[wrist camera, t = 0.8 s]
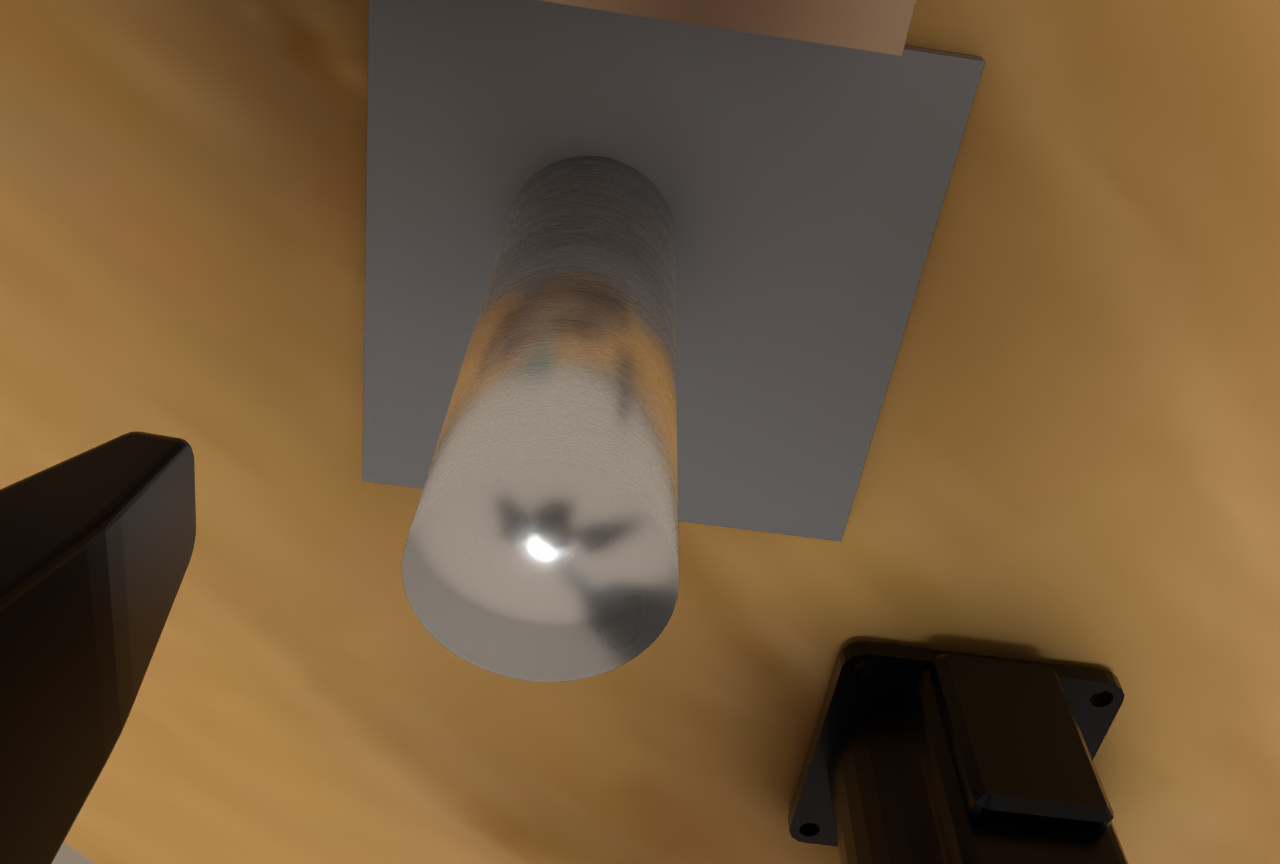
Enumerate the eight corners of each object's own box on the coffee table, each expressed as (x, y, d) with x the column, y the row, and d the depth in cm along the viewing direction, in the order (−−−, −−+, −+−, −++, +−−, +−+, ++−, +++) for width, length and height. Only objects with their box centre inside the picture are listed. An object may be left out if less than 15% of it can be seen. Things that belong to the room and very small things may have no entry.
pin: (661, 323, 21) (656, 696, 13) (501, 300, 21) (398, 665, 13) (687, 169, 20) (699, 487, 12) (514, 144, 20) (406, 450, 12)
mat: (839, 532, 24) (841, 541, 24) (365, 472, 24) (362, 480, 23) (981, 57, 19) (984, 61, 19) (373, -36, 18) (369, -33, 18)
